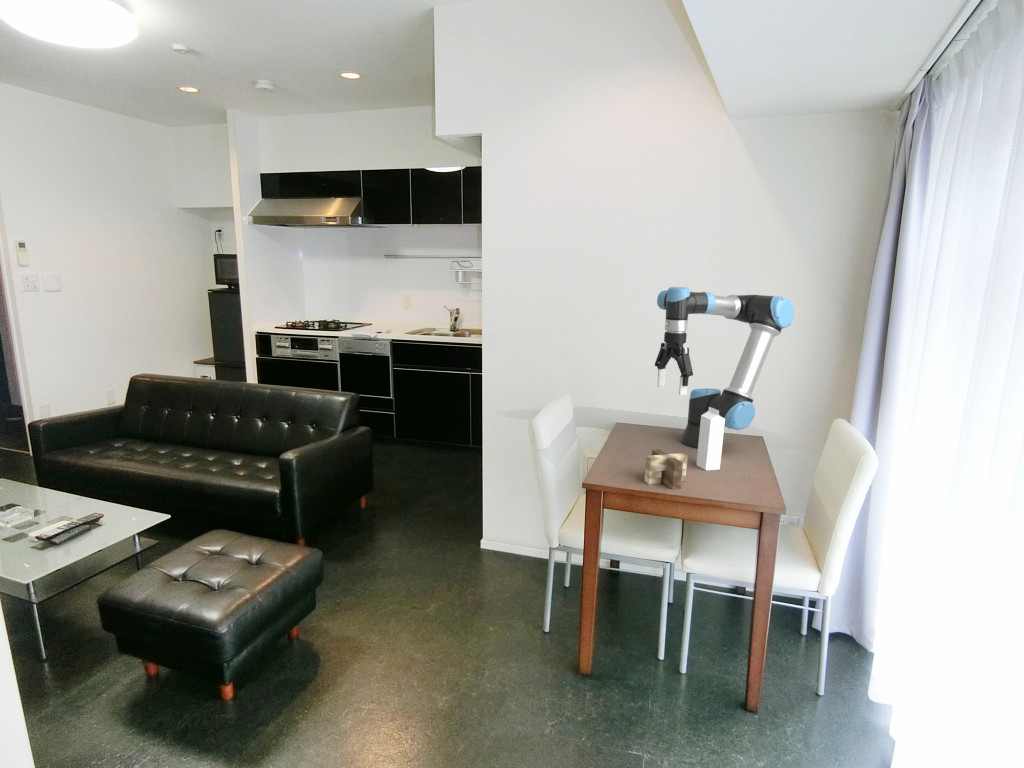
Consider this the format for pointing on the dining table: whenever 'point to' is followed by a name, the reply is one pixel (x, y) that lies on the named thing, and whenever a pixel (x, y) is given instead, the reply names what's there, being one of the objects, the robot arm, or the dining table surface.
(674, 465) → the slotted base
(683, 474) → the cross plate
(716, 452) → the milk
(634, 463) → the dining table surface
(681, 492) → the dining table surface
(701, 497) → the dining table surface
